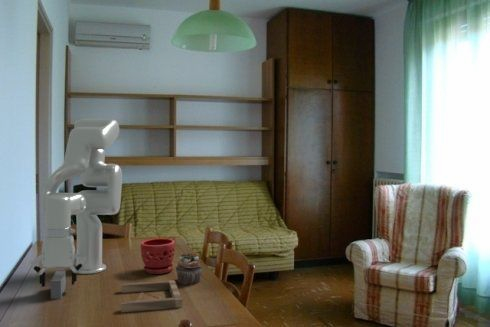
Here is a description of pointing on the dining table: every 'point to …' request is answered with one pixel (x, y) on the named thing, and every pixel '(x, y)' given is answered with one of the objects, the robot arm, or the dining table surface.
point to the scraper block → (58, 284)
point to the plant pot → (158, 255)
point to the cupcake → (188, 269)
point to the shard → (146, 297)
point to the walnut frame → (153, 303)
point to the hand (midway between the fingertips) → (58, 284)
